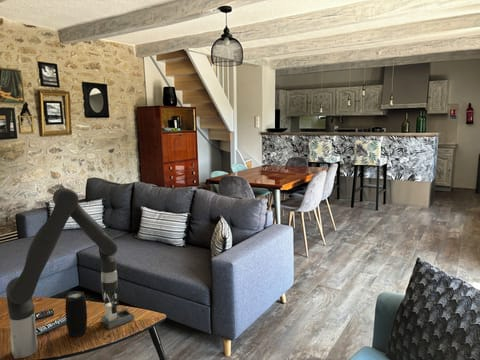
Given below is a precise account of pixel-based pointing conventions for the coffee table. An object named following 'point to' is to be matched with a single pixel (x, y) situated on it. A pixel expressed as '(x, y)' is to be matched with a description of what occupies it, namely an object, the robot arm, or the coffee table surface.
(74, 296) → the portable speaker
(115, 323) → the panel
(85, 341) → the coffee table surface
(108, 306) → the plug
